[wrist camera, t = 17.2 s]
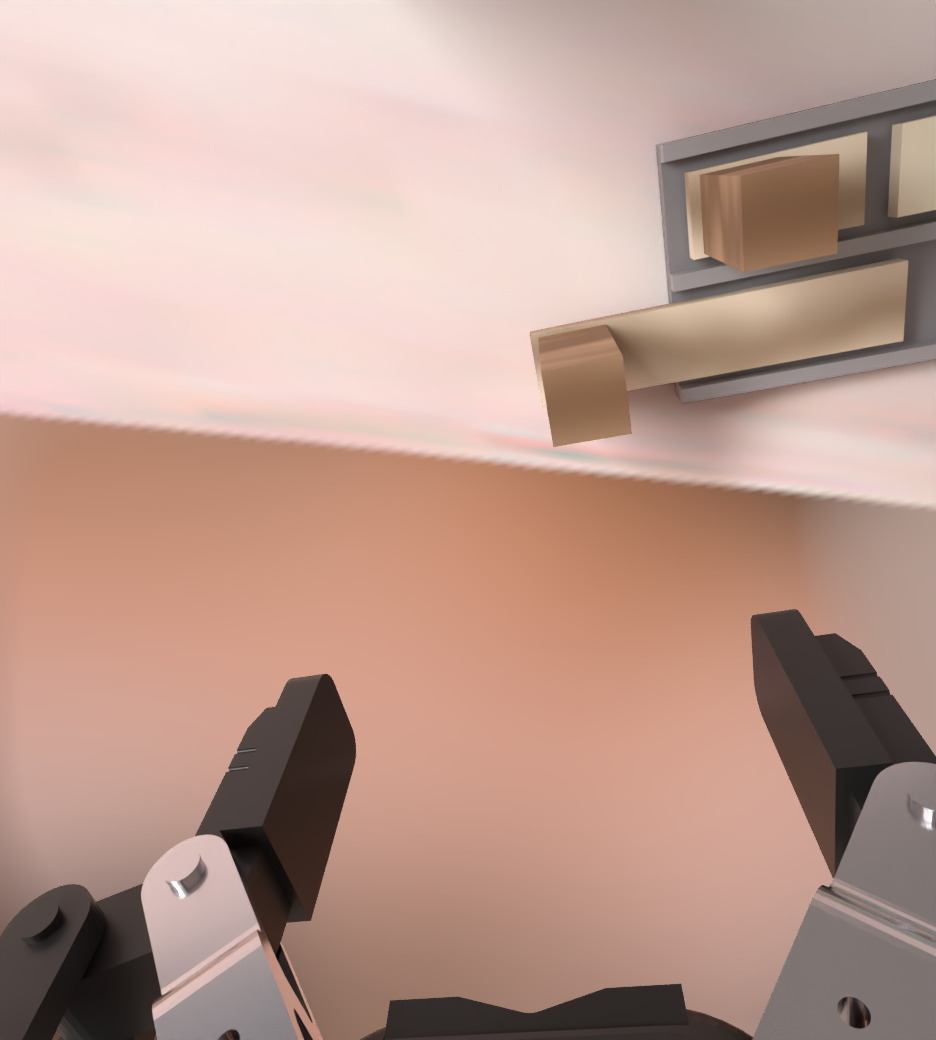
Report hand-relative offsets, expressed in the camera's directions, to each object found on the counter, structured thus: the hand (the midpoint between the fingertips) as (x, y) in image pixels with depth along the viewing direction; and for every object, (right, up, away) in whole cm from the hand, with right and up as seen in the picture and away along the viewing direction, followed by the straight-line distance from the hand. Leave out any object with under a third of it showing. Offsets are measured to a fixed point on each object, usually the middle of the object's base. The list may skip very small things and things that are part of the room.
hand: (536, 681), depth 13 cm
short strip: (+14, +19, +21) cm, 31 cm away
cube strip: (+12, +13, +24) cm, 30 cm away
